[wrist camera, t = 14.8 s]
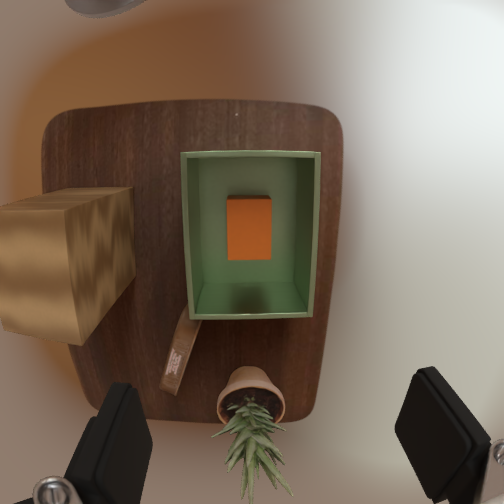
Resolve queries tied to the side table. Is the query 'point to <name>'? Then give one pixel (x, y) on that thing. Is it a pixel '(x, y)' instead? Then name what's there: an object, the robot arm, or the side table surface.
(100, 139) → the side table surface
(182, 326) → the tin
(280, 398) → the potted plant
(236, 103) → the side table surface
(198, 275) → the trash bin
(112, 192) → the wood grain block
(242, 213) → the block
